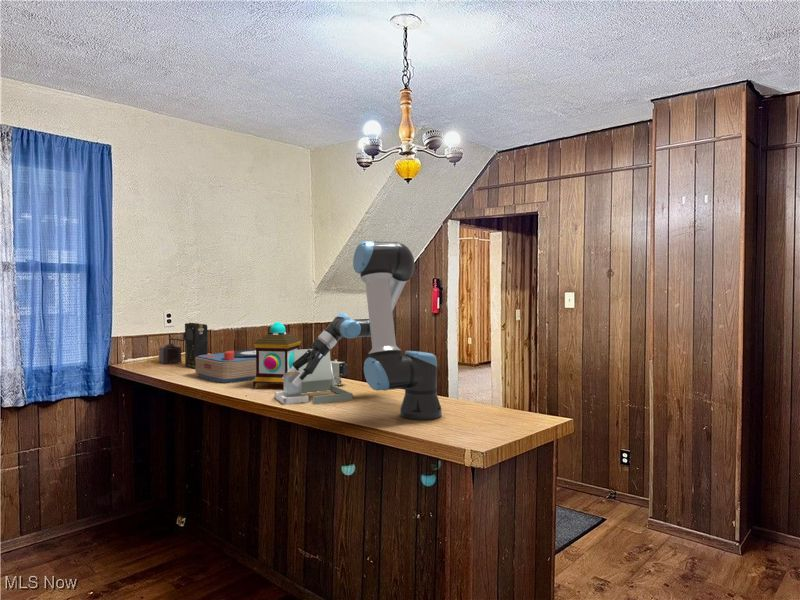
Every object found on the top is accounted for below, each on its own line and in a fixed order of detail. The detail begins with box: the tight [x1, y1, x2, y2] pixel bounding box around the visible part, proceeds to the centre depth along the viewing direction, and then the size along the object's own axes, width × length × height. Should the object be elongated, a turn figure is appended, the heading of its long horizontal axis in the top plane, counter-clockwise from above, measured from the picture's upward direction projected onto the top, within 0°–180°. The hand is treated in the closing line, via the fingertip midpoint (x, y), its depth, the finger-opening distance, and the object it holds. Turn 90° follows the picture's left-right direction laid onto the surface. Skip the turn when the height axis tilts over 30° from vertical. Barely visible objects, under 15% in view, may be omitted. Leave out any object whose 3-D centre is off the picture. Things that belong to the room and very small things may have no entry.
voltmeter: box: [184, 322, 209, 370], centre depth 317 cm, size 16×9×25 cm, turn 43°
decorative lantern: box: [252, 321, 302, 389], centre depth 260 cm, size 20×20×30 cm
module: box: [283, 372, 303, 398], centre depth 230 cm, size 6×6×11 cm
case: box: [293, 348, 353, 405], centre depth 237 cm, size 27×18×19 cm, turn 27°
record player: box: [195, 348, 256, 384], centre depth 292 cm, size 44×36×15 cm
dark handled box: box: [158, 332, 185, 365], centre depth 336 cm, size 16×11×18 cm
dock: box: [274, 390, 309, 406], centre depth 230 cm, size 14×10×2 cm
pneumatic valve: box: [330, 359, 349, 386], centre depth 263 cm, size 6×12×12 cm, turn 60°
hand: (289, 382), depth 229 cm, fingers open, 13 cm apart
